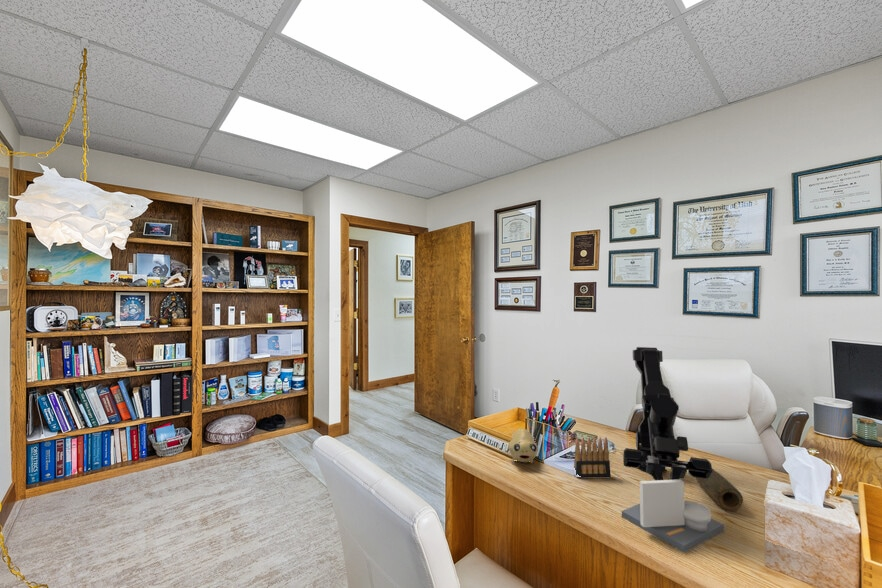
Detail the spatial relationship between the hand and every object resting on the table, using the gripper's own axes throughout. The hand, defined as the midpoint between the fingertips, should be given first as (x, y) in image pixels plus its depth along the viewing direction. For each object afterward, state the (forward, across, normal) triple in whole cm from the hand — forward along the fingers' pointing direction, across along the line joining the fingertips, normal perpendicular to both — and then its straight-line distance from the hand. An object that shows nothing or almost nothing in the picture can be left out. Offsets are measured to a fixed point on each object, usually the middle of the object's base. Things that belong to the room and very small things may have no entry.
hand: (669, 499), depth 88 cm
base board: (+3, +1, +7) cm, 8 cm away
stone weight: (-9, +15, +20) cm, 27 cm away
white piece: (+4, +1, +3) cm, 5 cm away
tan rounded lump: (-11, -39, +23) cm, 46 cm away
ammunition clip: (-10, -17, +21) cm, 29 cm away
